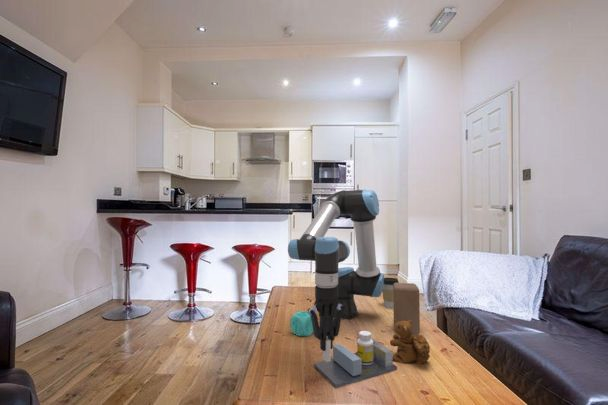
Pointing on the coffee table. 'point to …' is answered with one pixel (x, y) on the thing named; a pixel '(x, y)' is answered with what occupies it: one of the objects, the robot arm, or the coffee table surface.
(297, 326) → the decorative dice
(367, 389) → the coffee table surface
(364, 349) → the supplement bottle
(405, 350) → the stuffed squirrel
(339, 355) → the sliding jaw
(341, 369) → the vise base
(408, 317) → the block
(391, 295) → the coffee cup
